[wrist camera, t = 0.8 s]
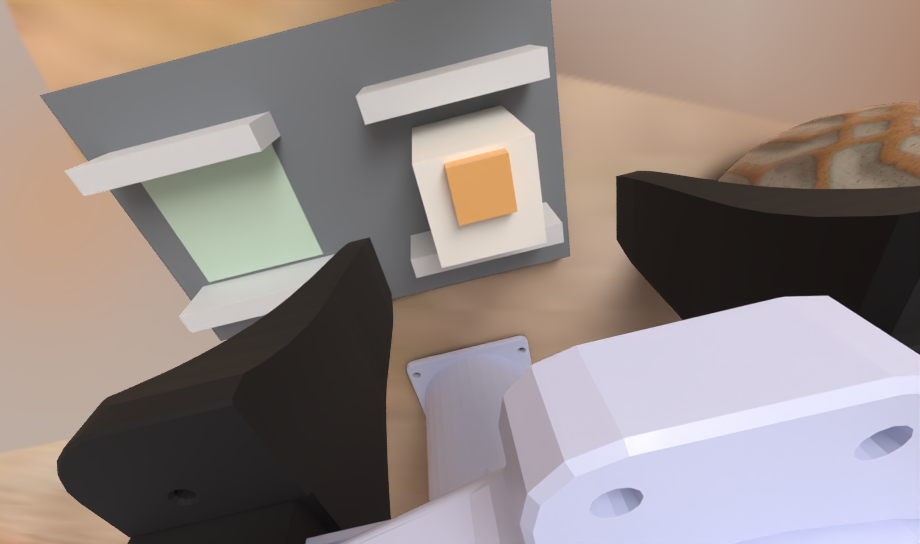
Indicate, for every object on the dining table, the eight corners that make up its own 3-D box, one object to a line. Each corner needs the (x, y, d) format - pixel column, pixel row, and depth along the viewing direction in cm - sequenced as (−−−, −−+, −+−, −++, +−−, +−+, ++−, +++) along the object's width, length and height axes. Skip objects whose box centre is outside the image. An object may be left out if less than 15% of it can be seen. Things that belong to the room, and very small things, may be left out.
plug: (514, 190, 19) (551, 250, 14) (434, 210, 19) (443, 276, 14) (501, 105, 17) (539, 138, 12) (411, 127, 17) (411, 170, 12)
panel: (564, 247, 22) (587, 280, 19) (227, 329, 23) (200, 373, 20) (540, -35, 16) (570, -50, 13) (59, 91, 16) (-21, 106, 13)
